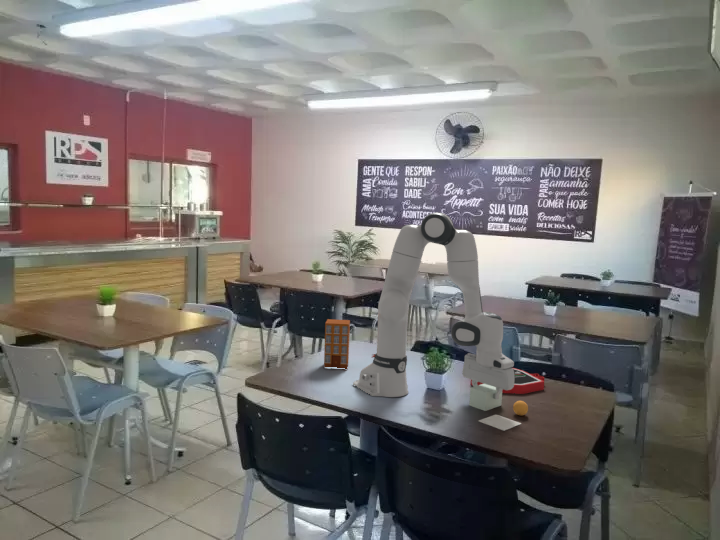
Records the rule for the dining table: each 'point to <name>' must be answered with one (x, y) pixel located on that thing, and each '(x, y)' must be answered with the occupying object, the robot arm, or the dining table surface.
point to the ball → (520, 408)
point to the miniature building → (336, 343)
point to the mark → (499, 422)
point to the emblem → (524, 382)
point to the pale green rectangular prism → (484, 397)
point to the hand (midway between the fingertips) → (486, 395)
